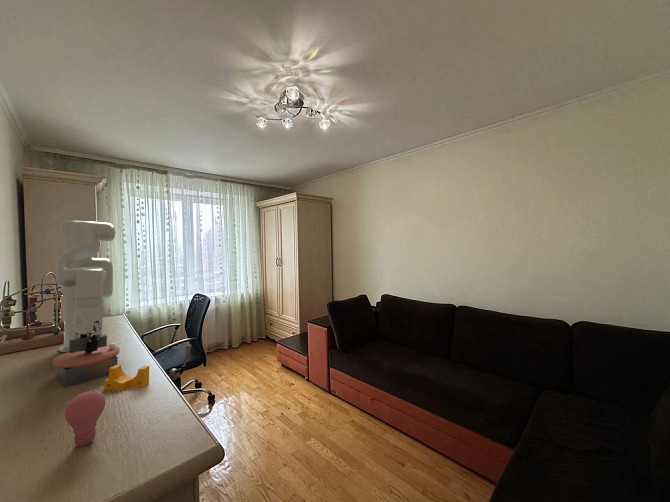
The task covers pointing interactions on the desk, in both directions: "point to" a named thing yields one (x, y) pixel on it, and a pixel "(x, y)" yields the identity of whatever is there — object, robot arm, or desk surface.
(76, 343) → the handwheel
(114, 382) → the pipe clamp
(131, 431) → the desk surface
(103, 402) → the light bulb
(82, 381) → the block
